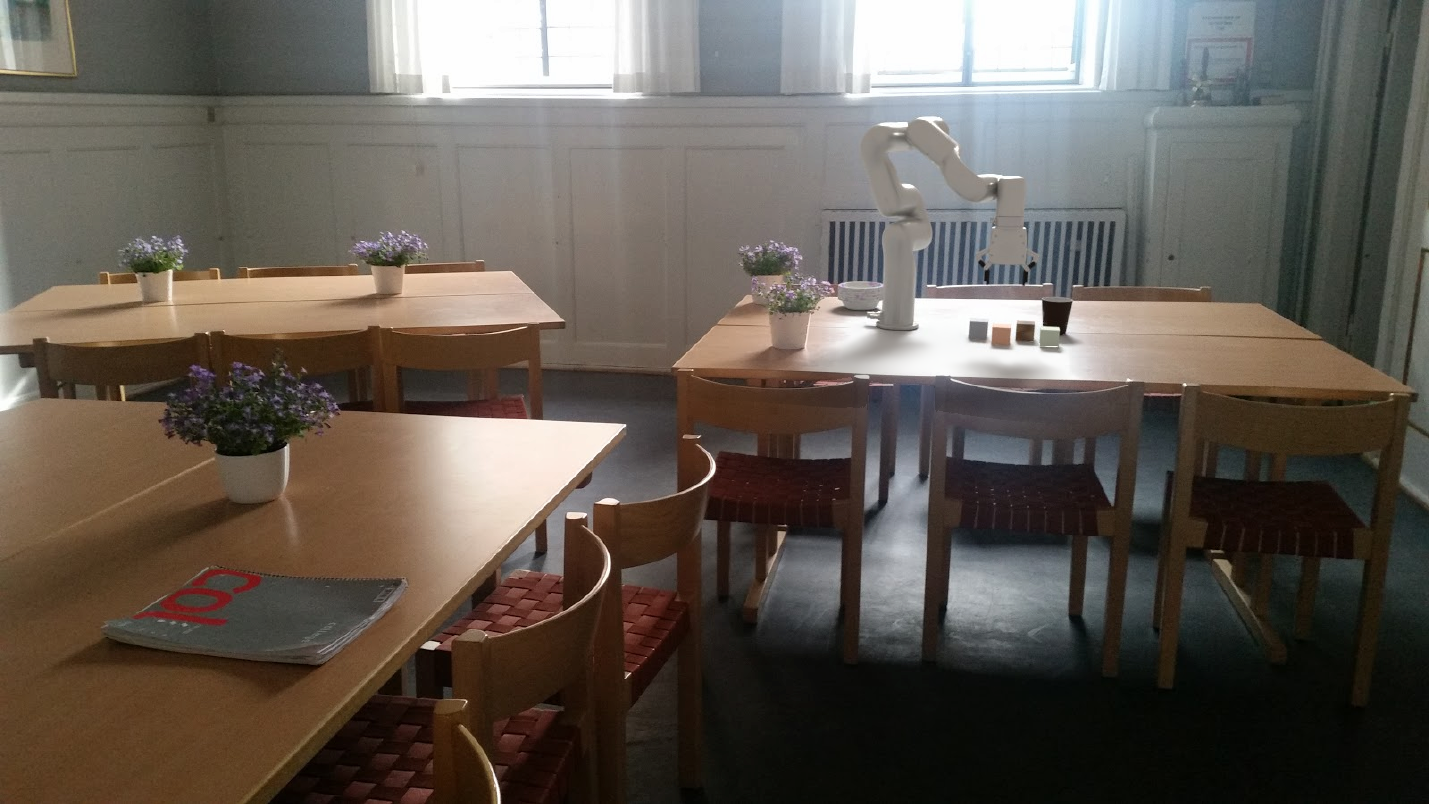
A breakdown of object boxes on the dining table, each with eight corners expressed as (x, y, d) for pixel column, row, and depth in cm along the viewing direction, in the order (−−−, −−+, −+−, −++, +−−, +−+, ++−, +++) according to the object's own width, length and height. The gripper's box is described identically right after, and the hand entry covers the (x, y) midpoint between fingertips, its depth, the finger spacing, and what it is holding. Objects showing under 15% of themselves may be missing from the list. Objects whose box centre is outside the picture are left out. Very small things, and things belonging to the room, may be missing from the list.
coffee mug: (1063, 337, 319) (1066, 303, 317) (1034, 333, 324) (1037, 299, 322) (1077, 331, 328) (1080, 297, 326) (1049, 327, 333) (1052, 294, 331)
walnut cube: (1015, 340, 315) (1016, 323, 313) (1015, 337, 319) (1016, 320, 318) (1033, 341, 313) (1035, 324, 312) (1033, 338, 318) (1035, 321, 317)
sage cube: (1039, 347, 307) (1040, 329, 305) (1039, 343, 311) (1040, 326, 310) (1058, 348, 305) (1059, 330, 304) (1057, 344, 310) (1059, 327, 309)
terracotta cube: (991, 344, 310) (992, 326, 308) (991, 340, 314) (992, 323, 313) (1009, 345, 309) (1011, 328, 307) (1009, 342, 313) (1011, 324, 312)
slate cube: (968, 338, 318) (969, 321, 317) (969, 334, 323) (970, 317, 321) (986, 339, 317) (987, 322, 315) (987, 335, 321) (988, 318, 320)
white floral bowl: (828, 306, 367) (829, 282, 364) (867, 302, 373) (868, 279, 371) (852, 313, 353) (853, 289, 351) (892, 310, 359) (894, 286, 357)
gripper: (976, 223, 301) (972, 285, 306) (1042, 224, 297) (1038, 287, 301) (977, 220, 308) (974, 281, 313) (1042, 221, 304) (1037, 283, 308)
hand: (1005, 284), depth 307 cm, fingers open, 9 cm apart
